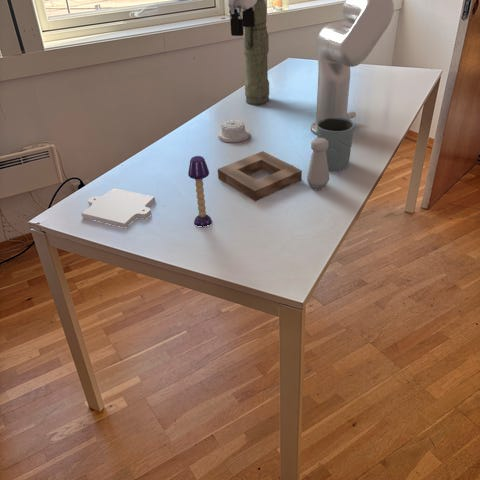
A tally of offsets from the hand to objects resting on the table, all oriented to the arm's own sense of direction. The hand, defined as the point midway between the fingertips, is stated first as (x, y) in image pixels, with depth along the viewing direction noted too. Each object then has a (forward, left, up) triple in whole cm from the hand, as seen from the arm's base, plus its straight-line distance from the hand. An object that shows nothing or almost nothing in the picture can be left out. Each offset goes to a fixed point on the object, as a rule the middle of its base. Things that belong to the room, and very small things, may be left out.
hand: (243, 31), depth 127 cm
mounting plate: (+46, +6, -34) cm, 58 cm away
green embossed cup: (-11, +25, -34) cm, 43 cm away
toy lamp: (+33, +25, -34) cm, 54 cm away
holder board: (+10, +18, -34) cm, 39 cm away
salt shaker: (+1, +31, -34) cm, 46 cm away
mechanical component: (-2, -10, -34) cm, 35 cm away
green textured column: (-28, -29, -34) cm, 52 cm away
